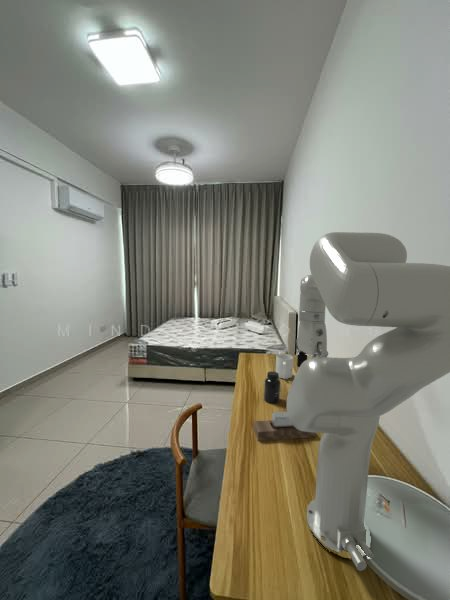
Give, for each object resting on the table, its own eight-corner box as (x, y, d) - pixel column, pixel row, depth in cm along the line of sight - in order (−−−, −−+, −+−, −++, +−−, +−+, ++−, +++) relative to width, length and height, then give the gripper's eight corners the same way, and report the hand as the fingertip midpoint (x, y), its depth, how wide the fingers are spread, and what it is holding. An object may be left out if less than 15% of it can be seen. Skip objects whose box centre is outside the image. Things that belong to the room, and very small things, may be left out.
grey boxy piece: (293, 430, 86) (294, 411, 86) (296, 435, 83) (297, 416, 83) (271, 431, 85) (272, 412, 84) (274, 437, 82) (275, 417, 82)
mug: (275, 372, 139) (276, 353, 138) (292, 374, 137) (293, 355, 136) (274, 381, 127) (275, 360, 126) (292, 383, 125) (293, 362, 124)
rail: (307, 426, 89) (308, 418, 88) (315, 437, 83) (316, 428, 82) (253, 429, 86) (253, 421, 86) (257, 440, 80) (258, 431, 80)
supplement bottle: (279, 404, 103) (281, 377, 102) (263, 402, 105) (264, 375, 104) (279, 397, 110) (280, 371, 109) (264, 395, 111) (265, 369, 110)
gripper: (340, 321, 67) (337, 382, 68) (309, 314, 84) (306, 363, 85) (315, 320, 66) (312, 382, 67) (288, 313, 83) (286, 363, 84)
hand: (309, 371), depth 76 cm, fingers open, 9 cm apart
